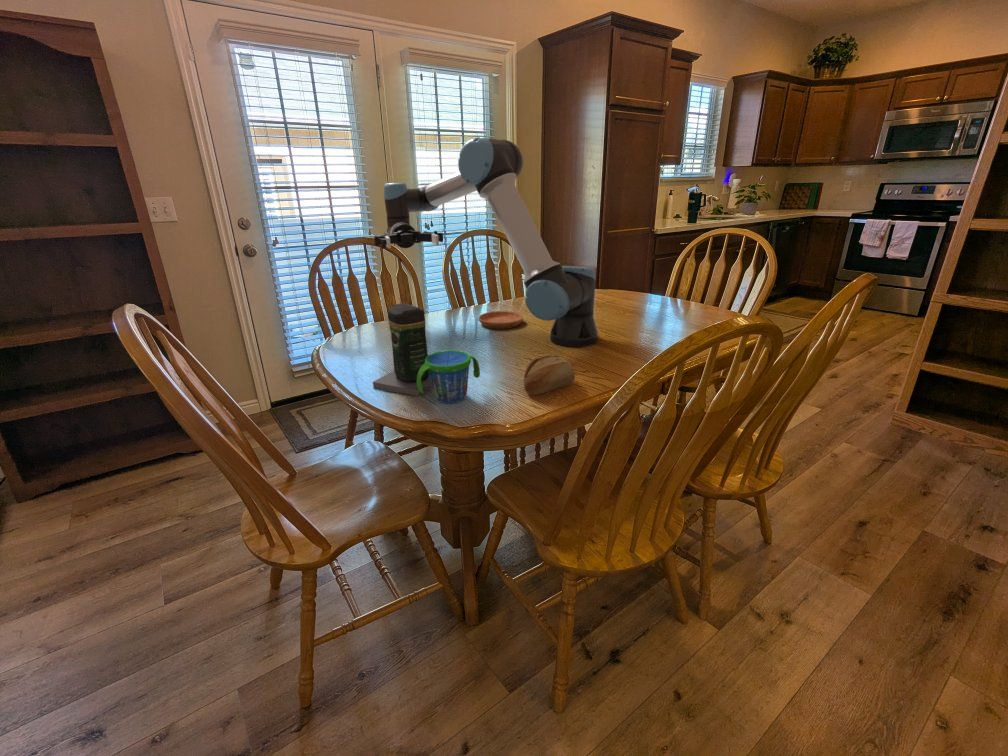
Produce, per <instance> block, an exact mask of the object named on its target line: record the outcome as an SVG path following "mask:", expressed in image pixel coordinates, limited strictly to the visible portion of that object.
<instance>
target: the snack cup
mask: <svg viewBox="0 0 1008 756" xmlns="http://www.w3.org/2000/svg"><path fill="white" fill-rule="evenodd" d="M471 363H472V366H473V368H472V369H473V371H472V372H473V373H472V374H473V377H475V378H476V379H479V377H480V375H481V370H480V365H479V362H478V360H477V358H476V357H474V356H473V355H470V354H469V353H468V352H465V351H462V350H454V349H453V350H452V349H451V350H448V349H447V350H442V351H436V352H433V353H430V354H428V356H427V357H426V358H425V363H424V364H423V365H422V366H421V367H420V369H419V371H418V375H417V387H418V390H419V391H420V392H421V393H424V391H423V387H422V383H421V377H422V375H423V374H424V372H425V371H426V370H427V371H428V373H429V377H430V380H431V385H432V389H431V390H432V392H433V396H434V398H435V399H436V400H435V401H436V402H439V403H442V404H443V403H444V404H453V403H458V402H461V401H463V400H465V399H466V397H467V393H468V386H469V385H468V384H469V374H470V373H469V371H470V366H471ZM424 394H425V393H424Z"/></svg>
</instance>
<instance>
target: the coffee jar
mask: <svg viewBox="0 0 1008 756" xmlns="http://www.w3.org/2000/svg"><path fill="white" fill-rule="evenodd" d="M425 317H426V315H425V311H424V309H422V308H420V307H418V306H415V305H412V304H409V303H407V302H403V303H397V304H392V305H391V306H390V307H389V308H388V310H387V319H388V325H389V326H388V327H389V330H390V338H391V348H392V349H391V350H392V357H393V358H392V360H393V361H392V362H393V371H394V372H395V375H396V376H397V377H398V378H400V379H401V380H403V381H405V382H410V381H415V382H417V375H418V371H419V369H420V367H421V366H422V365H423V364H424V363H425V358H426V357H427V356H429V353H428V344H427V342H428V341H427V335H426V318H425ZM427 377H429V373H428V371H427V370H426V371H425V372H424V374H423V375H422V377H421V380H423V379H425V378H427Z"/></svg>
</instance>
